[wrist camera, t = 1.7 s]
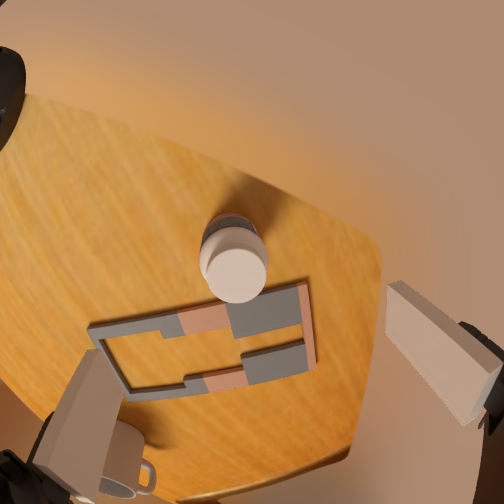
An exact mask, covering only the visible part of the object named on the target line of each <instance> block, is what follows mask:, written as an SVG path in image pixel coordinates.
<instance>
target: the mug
mask: <svg viewBox="0 0 504 504" xmlns="http://www.w3.org/2000/svg"><path fill="white" fill-rule="evenodd" d="M144 445H145V439H144V436H143V435H142V433H141V432H140V431H139V430H138V429H136V428H135V427H133V426H132V425H130V424H128V423H125V422H123V421H120V420H116V423H115V426H114V430H113V433H112V437H111V441H110V444H109V448H108V452H107V456H106V460H105V464H104V468H103V472H102V476H101V481H100V485H99V490H98V491H99V492H102V493H104V494H107V495H110V496H113V497H118V498H127V499H128V498H134V497H135V496H136V495H137V493H140V494H145V495H147V494H150V493H152V492H153V490H154V488H155V485H156V470H155V468H154V466H153V465H152V464H151V463H150V462H148V461H147V460H145V459H143V458H142V456H143V450H144ZM141 467H143V468H145V469H146V470H147V471H148V473H149V484H148V486H147V487H144V486H142V485H140V484H139V475H140V468H141Z"/></svg>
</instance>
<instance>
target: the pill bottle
mask: <svg viewBox="0 0 504 504" xmlns="http://www.w3.org/2000/svg"><path fill="white" fill-rule="evenodd" d="M199 266H200V270H201V273H202V275H203V277H204V278H205V280H206V281H207V282H208V285H209V288H210V290H211V291H212V292H213V294H214V295H215V296H217V297H218V298H219V299H221V300H223V301H225V302H229V303H243V302H247V301H249V300H251V299H253V298H254V297H256V296H257V295H258V294H259V293H260V292H261V291H262V289H263V287H264V285H265V282H266V277H267V272H266V271H267V268H268V253H267V250H266V247H265V245H264V243H263V242H262V240H261V239H260V237H259V235H258V233H257V231H256V228H255V227H254V225H253V224H252V223H251V221H250V220H248V219H247V218H246V217H244V216H242V215H239V214H235V213H227V214H222V215H219V216H217V217H216V218H214V219H213V220H212V221H211V222H210V223H209V224H208V225H207V227H206V228H205V230H204V233H203V237H202V243H201V249H200V254H199Z"/></svg>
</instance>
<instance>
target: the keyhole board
mask: <svg viewBox="0 0 504 504" xmlns="http://www.w3.org/2000/svg"><path fill="white" fill-rule="evenodd" d="M300 323H301V324H302V331H303V339H304V340H301V341H297V342H294V343H290V344H286V345H282V346H278V347H274V348H270V349H266V350H261V351H257V352H253V353H248V354H244V355H240V356H241V361H242V364H243V366H241V367H236V368H231V369H226V370H221V371H215V372H210V373H204V374H198V375H192V376H185V377H184V378H183V382H184V384H181V385H174V386H166V387H157V388H148V389H137V390H131V389H130V388H129V386H128V384H127V383H126V381H125V379H124V378H123V376H122V374H121V373H120V371H119V369H118V367H117V366H116V364H115V362H114V360H113V359H112V357H111V355H110V353H109V351H108V349H107V347H106V346H105V344H104V342H103V340H102V339H106V338H113V337H119V336H126V335H132V334H138V333H144V332H150V331H155V330H160V332H161V334H162V336H163V339H167V338H173V337H178V336H184V335H189V334H194V333H200V332H205V331H210V330H215V329H219V328H224V327H229V326H231V328H232V331H233V334H234V338H235V339H238V338H242V337H247V336H251V335H255V334H260V333H264V332H268V331H272V330H276V329H280V328H284V327H288V326H292V325H296V324H300ZM86 330H87V332H88V334H89V336H90V338H91V340H92V342H93V344H94V346H95V348H96V349H101V351H102V353H103V355H104V356H105V358H106V360H107V362H108V364H109V365H110V367H111V369H112V371H113V372H114V374H115V376H116V377H117V379H118V381H119V382H120V384H121V386H122V387H123V389H124V390H125V393H124V396H125V398H126V399H127V401H128V402H136V401H149V400H160V399H169V398H178V397H186V396H193V395H200V394H206V393H213V392H218V391H224V390H230V389H235V388H240V387H245V386H250V385H254V384H259V383H263V382H268V381H272V380H276V379H280V378H284V377H288V376H292V375H296V374H299V373H303V372H307V371H310V370H314V369H316V358H315V348H314V338H313V329H312V320H311V312H310V303H309V295H308V288H307V283H306V282H305V281H302V282H298V283H294V284H290V285H286V286H282V287H278V288H274V289H270V290H266V291H261V292H260V293H259V294H258V295H257V296H256V297H254V298H253V299H251V300H249V301H247V302H243V303H229V302H225V301H223V300H222V301H218V302H213V303H208V304H204V305H199V306H194V307H189V308H184V309H180V310H175V311H170V312H165V313H159V314H154V315H149V316H144V317H138V318H133V319H128V320H122V321H116V322H111V323H105V324H99V325H93V326H88V328H87V329H86Z"/></svg>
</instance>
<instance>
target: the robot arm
mask: <svg viewBox="0 0 504 504" xmlns="http://www.w3.org/2000/svg"><path fill="white" fill-rule="evenodd" d="M5 1H6V0H0V6H1V5H2V4H3V3H4V2H5ZM25 86H26V70H25V65H24V62H23V59H22V58H21V56H20V55H19V54H18V53H17V52H15V51H13V50H11V49H9V48H6V47H2V46H0V151H1V149H2V148H3V147H4V145H5V144H6V142H7V140H8V138H9V137H10V135H11V133H12V131H13V128H14V126H15V124H16V121H17V119H18V116H19V113H20V110H21V106H22V102H23V98H24V93H25ZM387 292H388V293H387V317H386V335H387V336H388V337H389V338H390V340H391V341H392V342H393V343H394V344H395V345H396V346H397V347H398V349H399V350H400V351H401V352H402V353H403V354H404V356H405V357H406V358H407V359H408V360H409V361H410V363H411V364H412V365H413V366H414V367H415V368H416V370H417V371H418V372H419V373H420V374H421V376H422V377H423V378H424V379H425V380H426V381H427V383H428V384H429V385H430V386H431V387H432V389H433V390H434V391H435V392H436V394H437V395H438V396H439V397H440V398H441V400H442V401H443V402H444V403H445V405H446V406H447V407H448V408H449V409H450V411H451V412H452V413H453V414H454V416H455V417H456V418H457V420H458V421H459V422H460V423H461V425H462V426H465V425H466V424H468V423H469V422H471V421H472V420H473V419H475V418H476V417H477V416H478V415H479V413H480V411H481V409H482V408H483V407H484V408H485V409H486V410H487V411H486V413H485V415H484V417H483V418H482V420H481V422H480V423H479V426H478V429H480V428H481V427H482V425H483V423H485V424H484V437H483V448H482V456H481V463H480V470H479V476H478V481H477V486H476V491H475V495H474V499H473V504H504V351H503V350H502V349H501V348H500V347H499V346H498V345H496V344H495V343H494V342H493V341H491V340H490V339H488V337H487V336H485V335H484V334H481V332H480V331H479V330H478V329H477V328H475V327H474V326H473V325H470V324H468V323H465V322H460V323H456V322H455V321H454V320H453V319H451V318H450V317H449V316H448V315H446V314H445V313H444V312H442V311H441V310H440V309H439V308H437V307H436V306H435V305H433V304H432V303H431V302H429V301H428V300H427V299H426V298H424V297H423V296H422V295H420V294H419V293H418V292H416V291H415V290H414V289H412V288H411V287H410V286H408V285H407V284H406V283H404V282H403V281H401V280H400V281H397V282H394V283H391V284H388V290H387ZM124 393H125V390H124V389H123V387H122V386H121V384H120V382H119V381H118V379H117V377H116V376H115V374H114V372H113V371H112V369H111V367H110V365H109V364H108V362H107V360H106V358H105V356H104V355H103V353H102V351H101V349H92V350H87V351H86V353H85V355H84V357H83V358H82V360H81V362H80V364H79V366H78V367H77V369H76V371H75V373H74V375H73V377H72V378H71V380H70V382H69V384H68V386H67V388H66V390H65V392H64V394H63V396H62V398H61V400H60V402H59V404H58V406H57V408H56V410H55V411H53V412H52V413H51V414H50V415H49V416H48V417H47V418H46V420H45V422H44V424H43V426H42V428H41V429H42V430H41V431H40V432H39V435H38V438H37V439H36V441H35V444H34V446H33V448H32V450H31V453H30V455H29V457H28V460H27V462H26V464H25V463H24V462H23V461H22V460H21V459H20V458H19V457H18V456H16V454H15V453H14V452H12V451H11V450H3V451H1V452H0V504H74V503H73V502H72V501H71V500H70V499H69V498H70V494H71V495H73V496H74V497H75V498H77V499H78V500H80V501H83V502H88V503H92V504H96V499H97V494H98V490H99V485H100V481H101V476H102V472H103V468H104V464H105V460H106V456H107V452H108V448H109V444H110V441H111V437H112V433H113V430H114V426H115V423H116V419H117V416H118V412H119V409H120V406H121V403H122V399H123V396H124Z"/></svg>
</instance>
